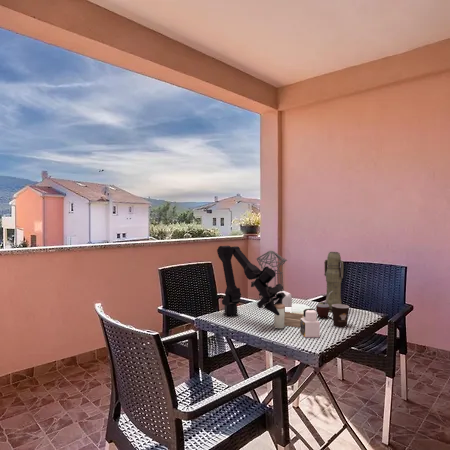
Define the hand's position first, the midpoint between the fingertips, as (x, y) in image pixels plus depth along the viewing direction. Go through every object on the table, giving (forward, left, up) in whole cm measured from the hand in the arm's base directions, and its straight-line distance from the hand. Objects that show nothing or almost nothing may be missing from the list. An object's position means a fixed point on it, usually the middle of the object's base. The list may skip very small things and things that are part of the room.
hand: (281, 314), depth 177 cm
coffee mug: (+30, -6, -8) cm, 32 cm away
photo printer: (+19, +26, -8) cm, 33 cm away
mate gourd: (+33, +8, -8) cm, 35 cm away
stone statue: (+48, +17, -8) cm, 52 cm away
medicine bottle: (+7, -13, -8) cm, 17 cm away
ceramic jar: (-1, +1, -7) cm, 7 cm away
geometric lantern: (+19, +40, -8) cm, 45 cm away
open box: (+11, +7, -7) cm, 15 cm away
